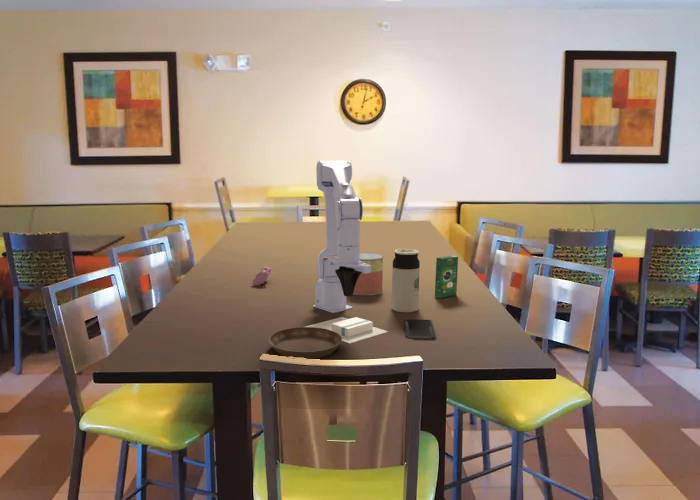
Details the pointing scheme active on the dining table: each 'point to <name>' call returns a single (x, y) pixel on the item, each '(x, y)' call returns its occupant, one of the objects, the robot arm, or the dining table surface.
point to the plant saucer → (305, 342)
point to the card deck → (352, 326)
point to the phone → (419, 329)
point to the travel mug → (405, 280)
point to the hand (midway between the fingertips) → (348, 295)
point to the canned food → (370, 275)
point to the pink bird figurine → (262, 276)
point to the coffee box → (446, 276)
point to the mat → (352, 338)
